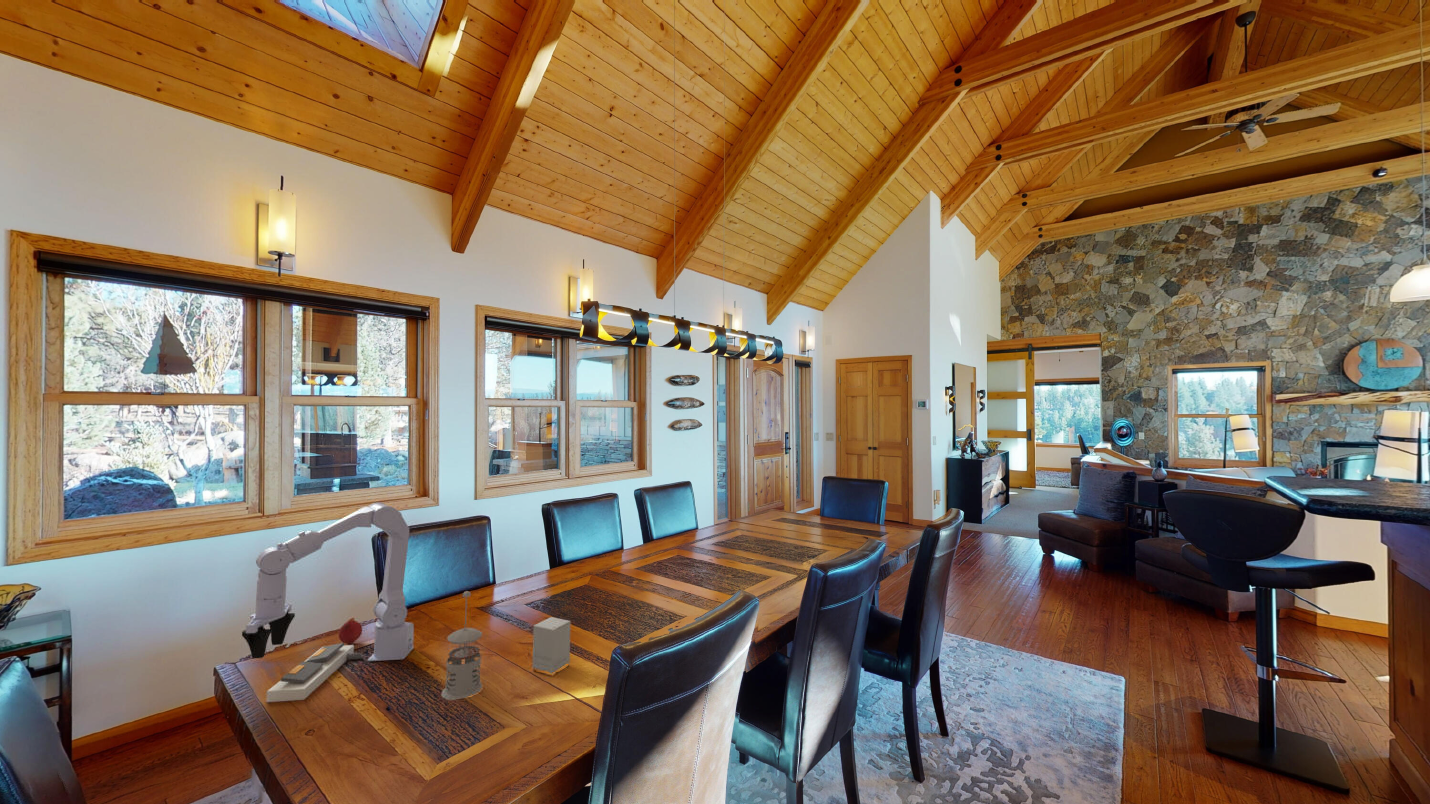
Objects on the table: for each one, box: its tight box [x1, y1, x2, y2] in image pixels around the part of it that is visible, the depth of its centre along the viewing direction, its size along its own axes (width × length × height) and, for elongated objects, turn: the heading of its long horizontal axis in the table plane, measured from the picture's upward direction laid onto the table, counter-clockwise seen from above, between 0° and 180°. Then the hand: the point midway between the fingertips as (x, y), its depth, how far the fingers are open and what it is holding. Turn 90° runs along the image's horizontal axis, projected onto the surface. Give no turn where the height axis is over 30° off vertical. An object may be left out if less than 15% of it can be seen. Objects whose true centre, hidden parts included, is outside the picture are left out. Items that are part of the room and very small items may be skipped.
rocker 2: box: [305, 642, 345, 662], centre depth 144 cm, size 5×9×1 cm, turn 12°
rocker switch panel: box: [265, 644, 363, 703], centre depth 139 cm, size 12×25×3 cm, turn 11°
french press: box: [440, 590, 483, 701], centre depth 135 cm, size 10×12×25 cm
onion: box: [338, 617, 363, 645], centre depth 158 cm, size 6×6×8 cm
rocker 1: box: [280, 660, 323, 683], centre depth 133 cm, size 5×9×1 cm, turn 11°
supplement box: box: [532, 616, 571, 673], centre depth 146 cm, size 7×7×13 cm
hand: (268, 650), depth 132 cm, fingers open, 7 cm apart
